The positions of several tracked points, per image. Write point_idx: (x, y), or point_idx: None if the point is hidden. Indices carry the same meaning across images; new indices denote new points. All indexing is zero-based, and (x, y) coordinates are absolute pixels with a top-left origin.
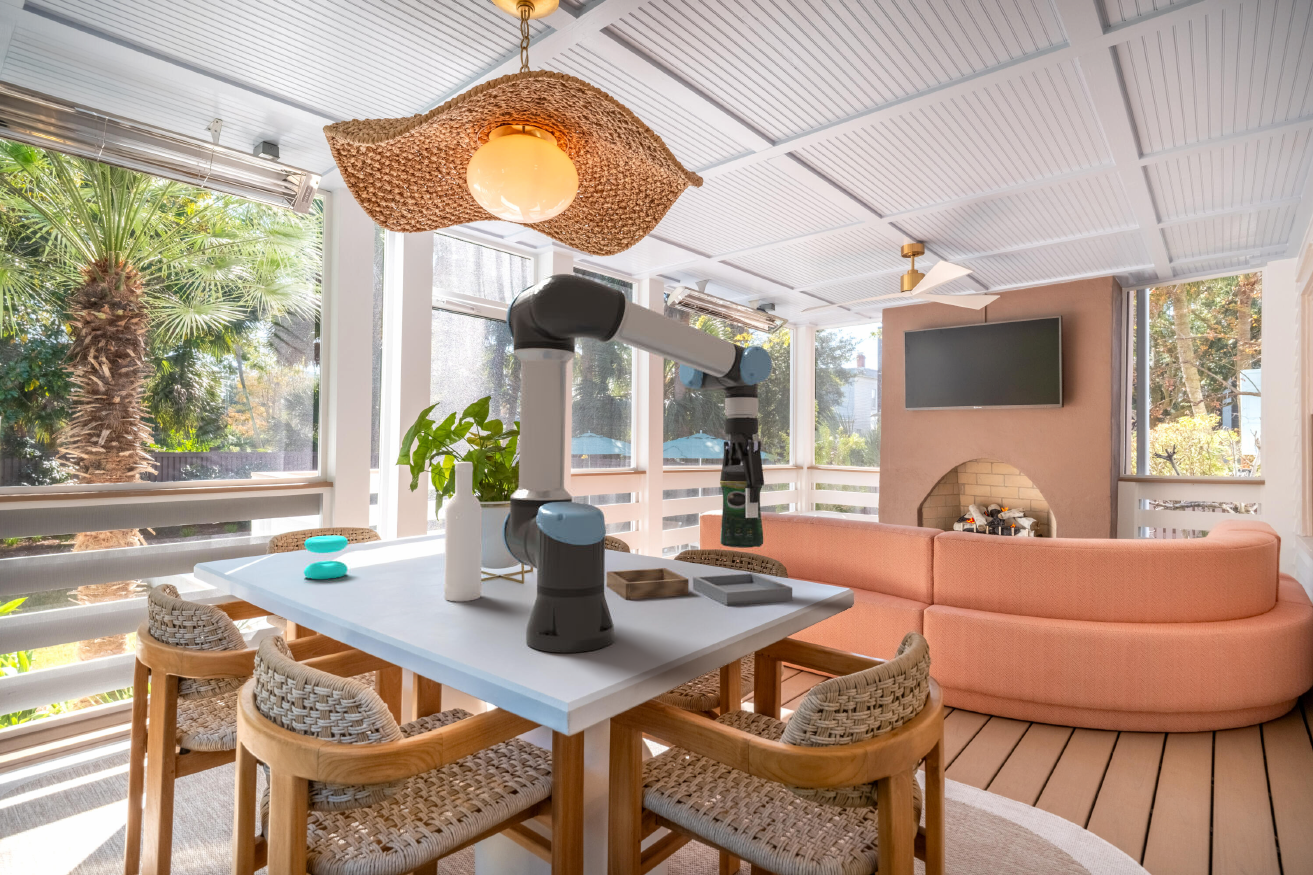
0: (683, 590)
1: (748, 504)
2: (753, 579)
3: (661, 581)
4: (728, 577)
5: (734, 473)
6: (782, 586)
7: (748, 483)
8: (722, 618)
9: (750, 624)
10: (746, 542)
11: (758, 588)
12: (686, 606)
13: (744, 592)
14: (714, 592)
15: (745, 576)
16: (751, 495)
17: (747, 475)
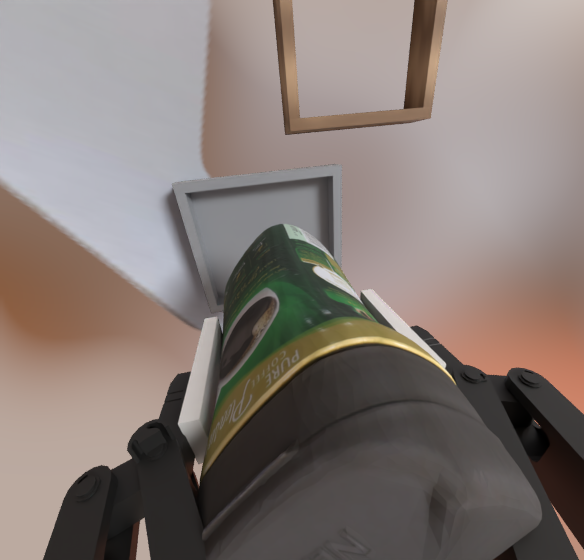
0: (285, 120)
1: (196, 358)
2: None
3: (283, 41)
4: (332, 241)
5: (256, 488)
6: None
7: (162, 462)
8: (64, 132)
9: (18, 173)
10: (228, 280)
11: None
12: (177, 87)
13: (184, 224)
14: (233, 176)
15: None
16: (174, 402)
17: (158, 534)
